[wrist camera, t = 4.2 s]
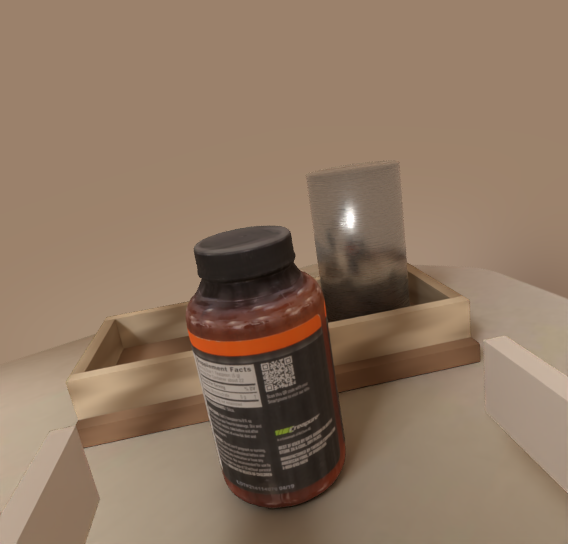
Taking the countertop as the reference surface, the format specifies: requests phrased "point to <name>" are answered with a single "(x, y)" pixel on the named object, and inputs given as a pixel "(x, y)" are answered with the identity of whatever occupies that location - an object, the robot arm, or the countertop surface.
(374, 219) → the billet
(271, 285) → the supplement bottle
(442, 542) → the countertop surface
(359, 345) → the wooden divided tray
